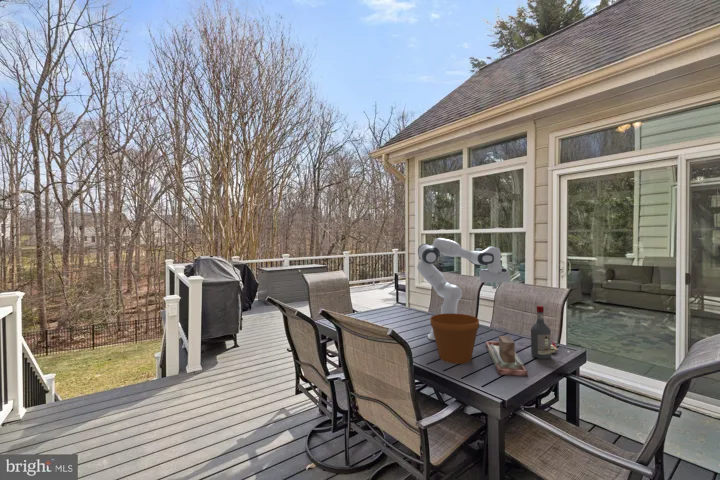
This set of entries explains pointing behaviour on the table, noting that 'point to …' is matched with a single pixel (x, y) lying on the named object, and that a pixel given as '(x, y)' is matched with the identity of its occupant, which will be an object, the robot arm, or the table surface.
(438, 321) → the flowerpot
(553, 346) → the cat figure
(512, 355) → the walnut block
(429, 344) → the table surface
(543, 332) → the liquor
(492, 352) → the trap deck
